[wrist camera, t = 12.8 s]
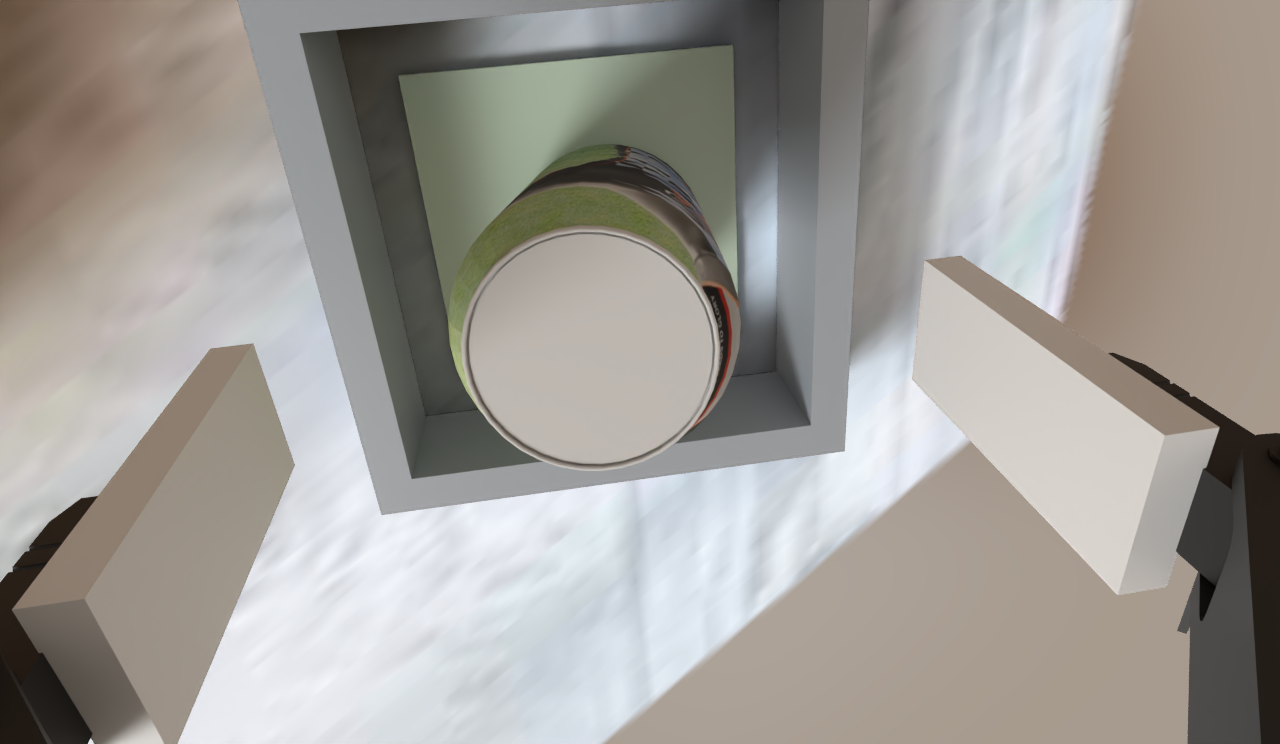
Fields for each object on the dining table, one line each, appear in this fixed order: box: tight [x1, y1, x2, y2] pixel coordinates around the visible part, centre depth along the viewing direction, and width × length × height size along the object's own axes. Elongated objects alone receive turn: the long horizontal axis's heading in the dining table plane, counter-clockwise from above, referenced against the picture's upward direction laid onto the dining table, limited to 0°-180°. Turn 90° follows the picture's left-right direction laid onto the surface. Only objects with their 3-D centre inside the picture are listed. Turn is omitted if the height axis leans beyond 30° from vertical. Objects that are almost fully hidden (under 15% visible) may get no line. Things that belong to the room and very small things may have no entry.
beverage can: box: [448, 144, 741, 471], centre depth 20 cm, size 6×7×12 cm
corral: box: [238, 0, 869, 515], centre depth 24 cm, size 15×15×4 cm
